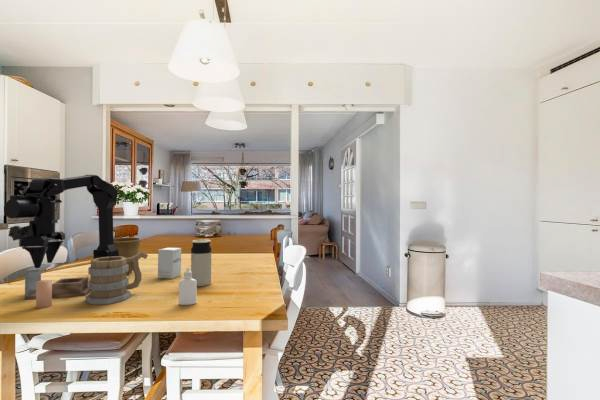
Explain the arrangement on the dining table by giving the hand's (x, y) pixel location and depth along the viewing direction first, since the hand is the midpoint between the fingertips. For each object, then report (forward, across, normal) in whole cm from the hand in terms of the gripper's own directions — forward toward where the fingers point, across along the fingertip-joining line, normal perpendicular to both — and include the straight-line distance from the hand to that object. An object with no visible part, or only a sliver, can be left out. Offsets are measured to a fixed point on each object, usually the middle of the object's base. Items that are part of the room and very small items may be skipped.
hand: (43, 265), depth 108 cm
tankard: (+13, -5, +21) cm, 26 cm away
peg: (+13, 0, 0) cm, 13 cm away
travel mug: (+13, -15, +49) cm, 53 cm away
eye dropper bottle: (+13, +10, +44) cm, 47 cm away
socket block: (+13, -15, 0) cm, 20 cm away
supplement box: (+13, -33, +36) cm, 51 cm away
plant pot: (+13, -45, +15) cm, 49 cm away
